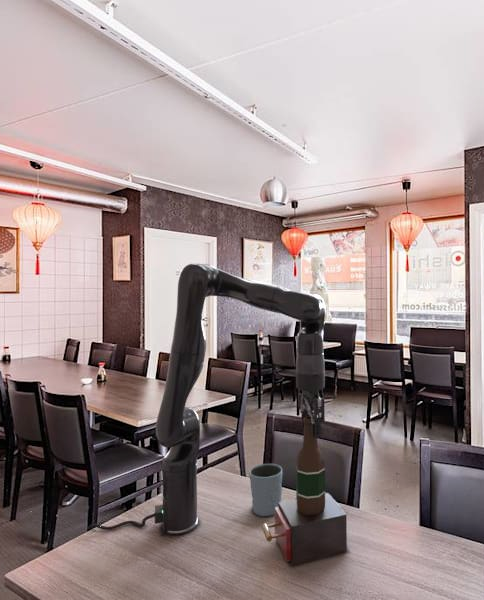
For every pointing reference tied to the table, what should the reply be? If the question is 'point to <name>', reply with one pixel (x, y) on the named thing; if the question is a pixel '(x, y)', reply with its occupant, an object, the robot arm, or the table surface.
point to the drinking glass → (266, 488)
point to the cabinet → (315, 531)
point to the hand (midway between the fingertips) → (310, 432)
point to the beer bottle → (310, 474)
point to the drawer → (280, 533)
